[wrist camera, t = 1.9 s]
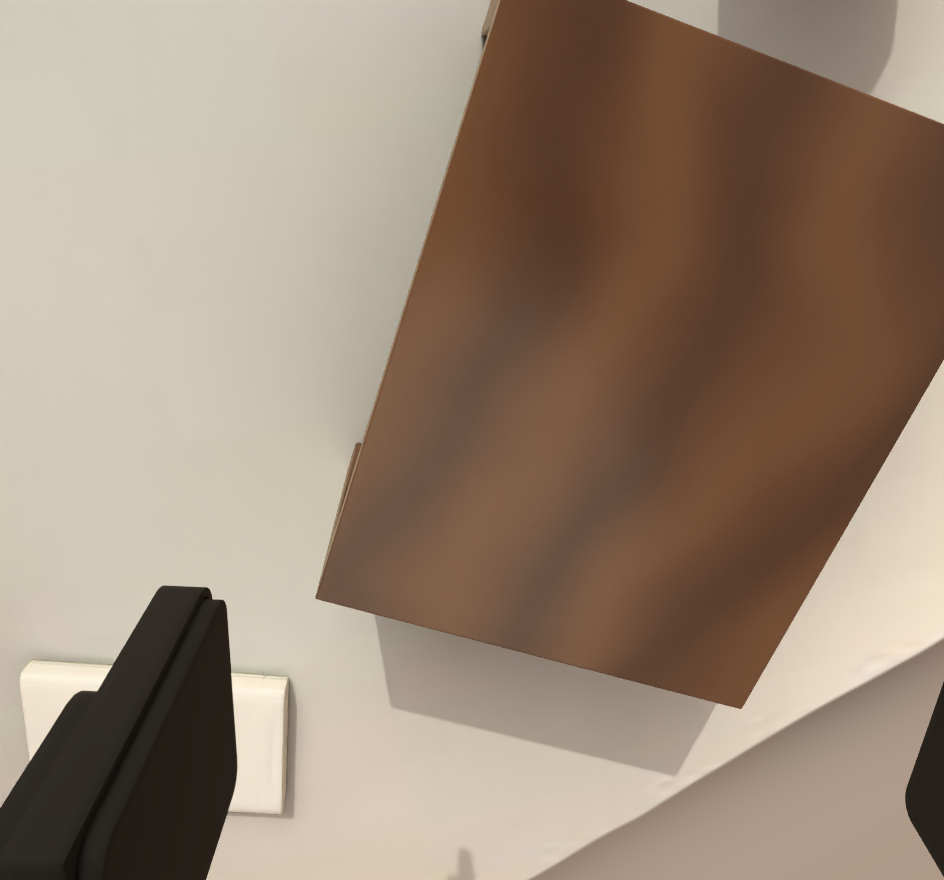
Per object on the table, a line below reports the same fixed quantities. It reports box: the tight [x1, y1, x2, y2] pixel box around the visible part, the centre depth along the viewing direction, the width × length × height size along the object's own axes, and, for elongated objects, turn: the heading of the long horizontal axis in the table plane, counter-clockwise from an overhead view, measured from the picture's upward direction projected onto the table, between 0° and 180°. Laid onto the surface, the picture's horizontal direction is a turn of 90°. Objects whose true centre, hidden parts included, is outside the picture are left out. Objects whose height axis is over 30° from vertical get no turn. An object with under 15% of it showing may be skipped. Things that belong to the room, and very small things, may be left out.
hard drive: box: [20, 660, 289, 814], centre depth 43 cm, size 2×8×12 cm
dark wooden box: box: [316, 0, 944, 709], centre depth 31 cm, size 16×20×10 cm
